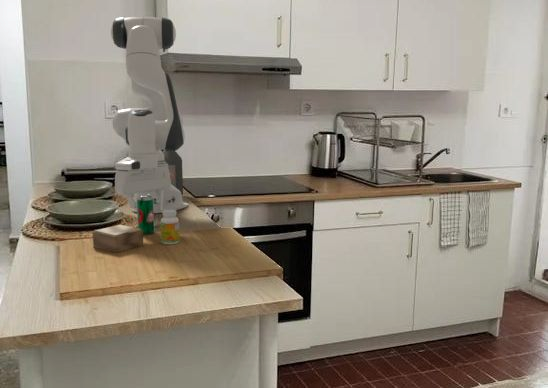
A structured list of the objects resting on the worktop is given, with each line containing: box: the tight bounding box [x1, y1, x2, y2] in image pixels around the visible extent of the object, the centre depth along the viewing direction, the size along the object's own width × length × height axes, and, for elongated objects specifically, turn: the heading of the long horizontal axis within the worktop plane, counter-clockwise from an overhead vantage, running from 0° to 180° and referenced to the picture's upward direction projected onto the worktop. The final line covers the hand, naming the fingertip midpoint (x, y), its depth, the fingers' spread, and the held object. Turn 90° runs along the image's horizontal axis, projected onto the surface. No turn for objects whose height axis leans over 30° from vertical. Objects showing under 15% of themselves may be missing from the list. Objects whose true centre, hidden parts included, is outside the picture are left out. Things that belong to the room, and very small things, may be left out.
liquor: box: [162, 150, 184, 196], centre depth 242 cm, size 9×9×30 cm
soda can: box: [136, 195, 155, 235], centre depth 178 cm, size 5×5×12 cm
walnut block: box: [92, 224, 144, 254], centre depth 162 cm, size 10×10×5 cm
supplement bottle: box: [160, 209, 180, 245], centre depth 166 cm, size 5×5×10 cm
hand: (145, 205), depth 177 cm, fingers open, 8 cm apart
